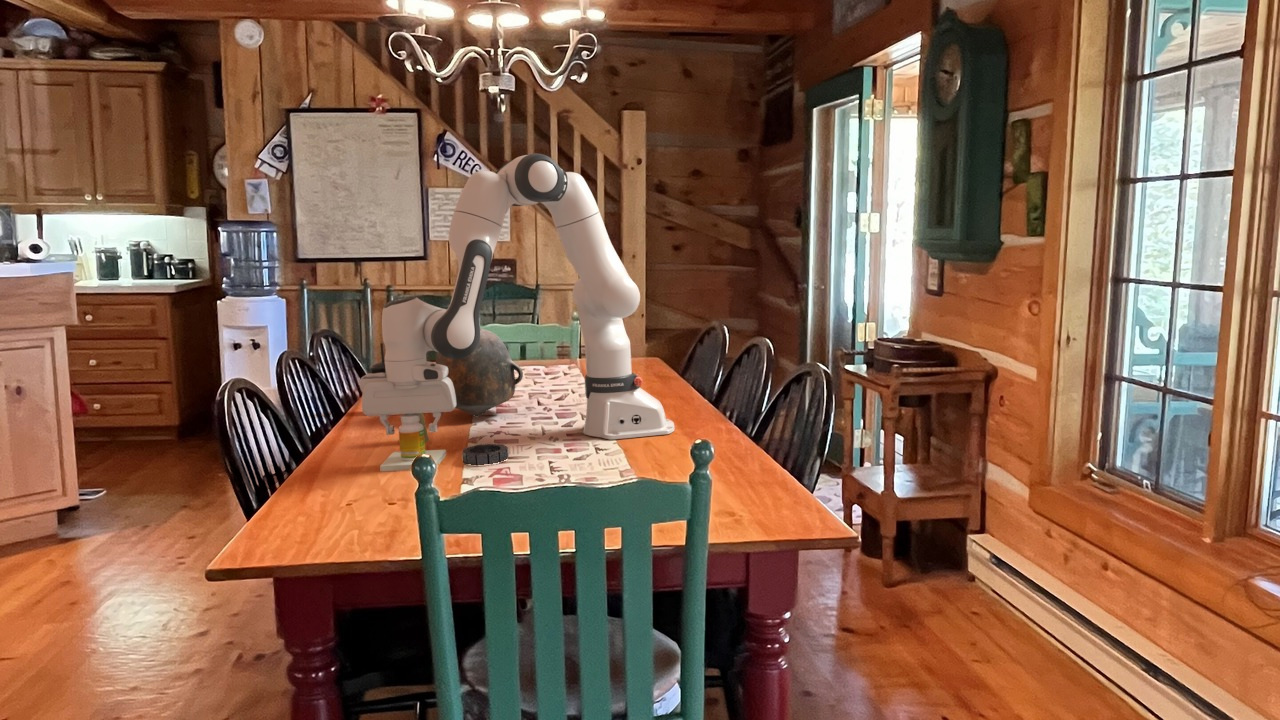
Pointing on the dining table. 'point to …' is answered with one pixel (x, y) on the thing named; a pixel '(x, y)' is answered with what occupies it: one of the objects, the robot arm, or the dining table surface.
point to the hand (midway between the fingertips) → (412, 433)
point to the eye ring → (485, 454)
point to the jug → (483, 375)
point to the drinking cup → (379, 364)
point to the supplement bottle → (411, 437)
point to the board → (398, 464)
